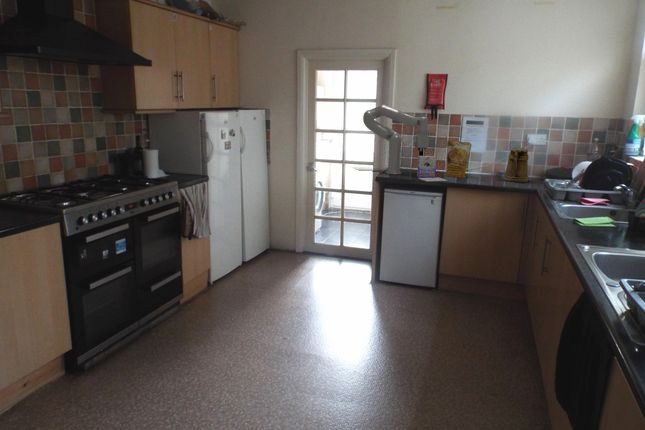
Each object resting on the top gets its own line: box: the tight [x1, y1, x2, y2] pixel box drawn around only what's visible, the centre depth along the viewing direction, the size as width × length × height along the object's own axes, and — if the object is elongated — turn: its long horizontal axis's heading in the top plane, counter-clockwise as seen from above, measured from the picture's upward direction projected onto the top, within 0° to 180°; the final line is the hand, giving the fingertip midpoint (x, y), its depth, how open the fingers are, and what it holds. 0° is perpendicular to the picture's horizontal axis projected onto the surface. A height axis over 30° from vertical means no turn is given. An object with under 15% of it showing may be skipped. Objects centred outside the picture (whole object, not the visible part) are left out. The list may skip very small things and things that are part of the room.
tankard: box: [503, 147, 530, 183], centre depth 368 cm, size 18×24×25 cm
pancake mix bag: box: [445, 140, 472, 179], centre depth 381 cm, size 7×19×28 cm, turn 53°
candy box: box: [416, 155, 437, 178], centre depth 376 cm, size 14×6×16 cm, turn 84°
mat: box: [417, 177, 449, 183], centre depth 367 cm, size 14×18×1 cm
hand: (421, 156), depth 385 cm, fingers closed
